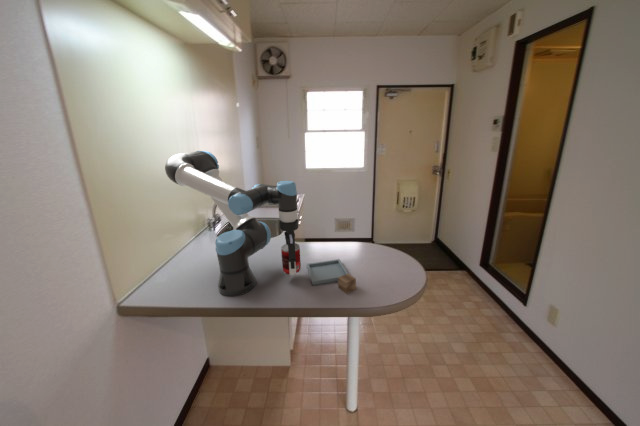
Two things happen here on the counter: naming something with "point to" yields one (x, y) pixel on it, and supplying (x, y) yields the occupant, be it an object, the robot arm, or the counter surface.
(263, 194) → the robot arm
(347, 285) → the walnut block
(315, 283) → the tray
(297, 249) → the canned food
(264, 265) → the counter surface
